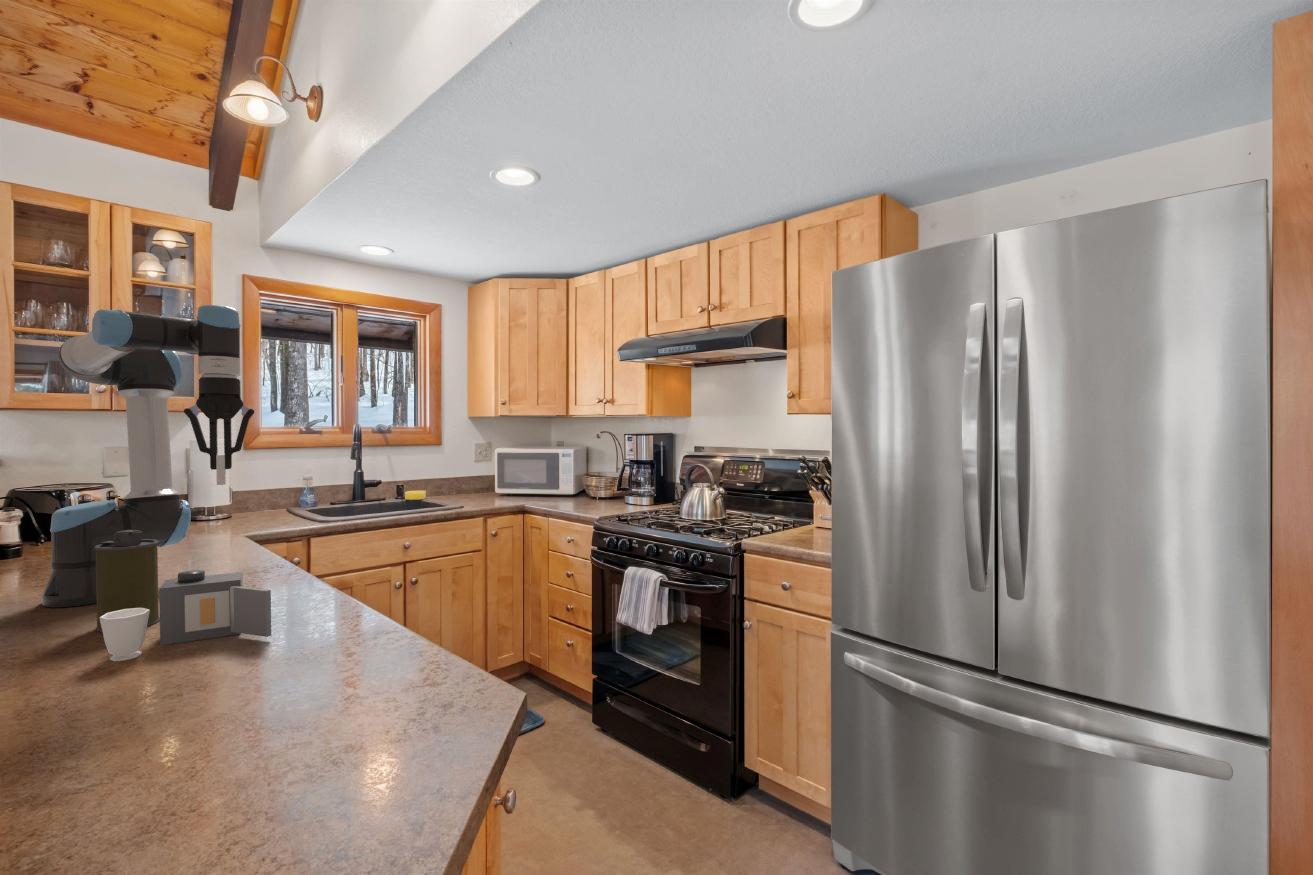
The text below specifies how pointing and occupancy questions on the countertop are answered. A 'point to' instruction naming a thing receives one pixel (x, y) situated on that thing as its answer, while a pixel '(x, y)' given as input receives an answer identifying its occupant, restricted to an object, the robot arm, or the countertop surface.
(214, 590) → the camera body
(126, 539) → the canister
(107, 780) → the countertop surface
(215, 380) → the robot arm
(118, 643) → the cup
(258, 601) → the door
